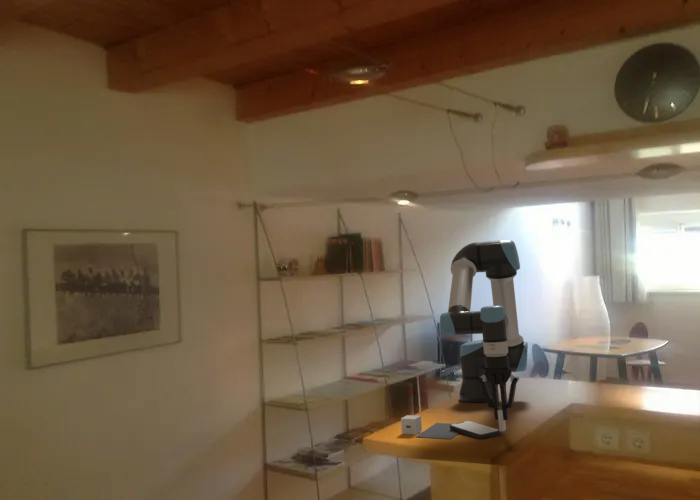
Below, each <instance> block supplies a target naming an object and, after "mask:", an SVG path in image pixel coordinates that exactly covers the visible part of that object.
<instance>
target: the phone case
mask: <svg viewBox="0 0 700 500" xmlns="http://www.w3.org/2000/svg"><path fill="white" fill-rule="evenodd" d="M450 429H451V430H454V431H457V432H460V433H459V434H464V435H467V436H471V437H474V438H477V439H479V440H483V439H487V438H491V437H496V436H499V435H501V431H499V428H495V427H491V426H488V425H484V424H482V423H478V422H474V421H471V420H465V421H461V422H457V423H456V422H455V423H451V425H450Z"/></svg>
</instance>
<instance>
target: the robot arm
mask: <svg viewBox="0 0 700 500" xmlns="http://www.w3.org/2000/svg"><path fill="white" fill-rule="evenodd" d="M518 253H519V252H518V249H517V246H516V243H515V241H513V240H511V239H505V240H504V239H498V240H490V241H489V240H488V241H479V242H471V243H469V244H466V245H465V246H463V247H462V248H461V249H460V250H459V251H458V252H456V254H455V255H454V257H453V259H452V261H451V265H450V272H451V274H452V278H451V286H450V293H449V301H448V308H447V311H446V312H443V313H441V314H440V316H439V318H440V319H439V325H440V331H441V333H442V334H443V335H447V336H448V335H450V336H451V335H452V336H458V335H478V334H479V335H480V334H481V335H482V339H479V340H478V339H477V340H473V341H468V342H465V343H463V344H461V345H460V347H459V351H460V352H459V354H460V355H459V357H460V366H461V379H462V382H461V386H460V389H459V394H458V396H459V397H458V399H459V401H461V402H463V403H464V402H465V403H486V404H487V407H488V408H490V409H493V410H494V419H495V420H496V421H497V422H498V430H499V431H500V432H505V431H506V430H507V425H506V423H507V422H506V421H507V420H508V419H509V411H508V410H509V409H511V408H512V407H514V401H515V397H516V390H517V384H518V381H520V377H519V376H516V375H514V374H513V373H520V372H521V373H522V372H525V371H526V370H527V368H528V367H527V366H528V348H529V347H528V346H529V345H528V341H524V337H523V336H522V335H521V334H520V332H519V322H518V321H519V320H518V315H517V313H518V312H517V302H516V294H515V293H516V292H515V283H514V278H515V277H516V276H517V274H518V273H517V272H518V270H520V269H521V264H520V263H521V262H520V258H519V257H520V256H519V254H518ZM477 273H485V277H486V278H487V279H488V280H489V281H490V288H491V295H492V305H486V306H482V307H481V308H480V310H476V311H475V310H473V311H472V310H471V306H472V294H473V283H474V282H473V281H474V277H475V276H476V274H477ZM509 379H510V382H511V383H510V387H509V392H508V393H509V394H507V383H508V381H509ZM499 389H500V395H499ZM507 395H508V397H507ZM500 400H501V401H500ZM500 403H501V405H500Z"/></svg>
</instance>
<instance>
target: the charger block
mask: <svg viewBox="0 0 700 500" xmlns="http://www.w3.org/2000/svg"><path fill="white" fill-rule="evenodd" d="M400 423H401V425H400V427H401V434H402V435H411V434H412V436H413V435H415V436H417V435H419V434H420V433H422V432H423V430H422V429H423V427H422V416H421V415H409V414H407V415H405V416H403V417H401V418H400Z"/></svg>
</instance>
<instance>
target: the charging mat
mask: <svg viewBox="0 0 700 500" xmlns="http://www.w3.org/2000/svg"><path fill="white" fill-rule="evenodd" d="M451 424H452V423H449V422H447V423H446V422H443V423H442V422H435V423H434V424H432V425H431V426H429V427H428V428H427V429H425V430H422V431H421V432H420V433H418V434H417V435H415V438H419V439H420V438H422V439H423V438H424V439H425V438H426V439H439V440H452V439H454V438H455V437H456V436H458V435H459V434H461V433H460V432H457V431H454V430H451V429H450V425H451Z"/></svg>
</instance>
